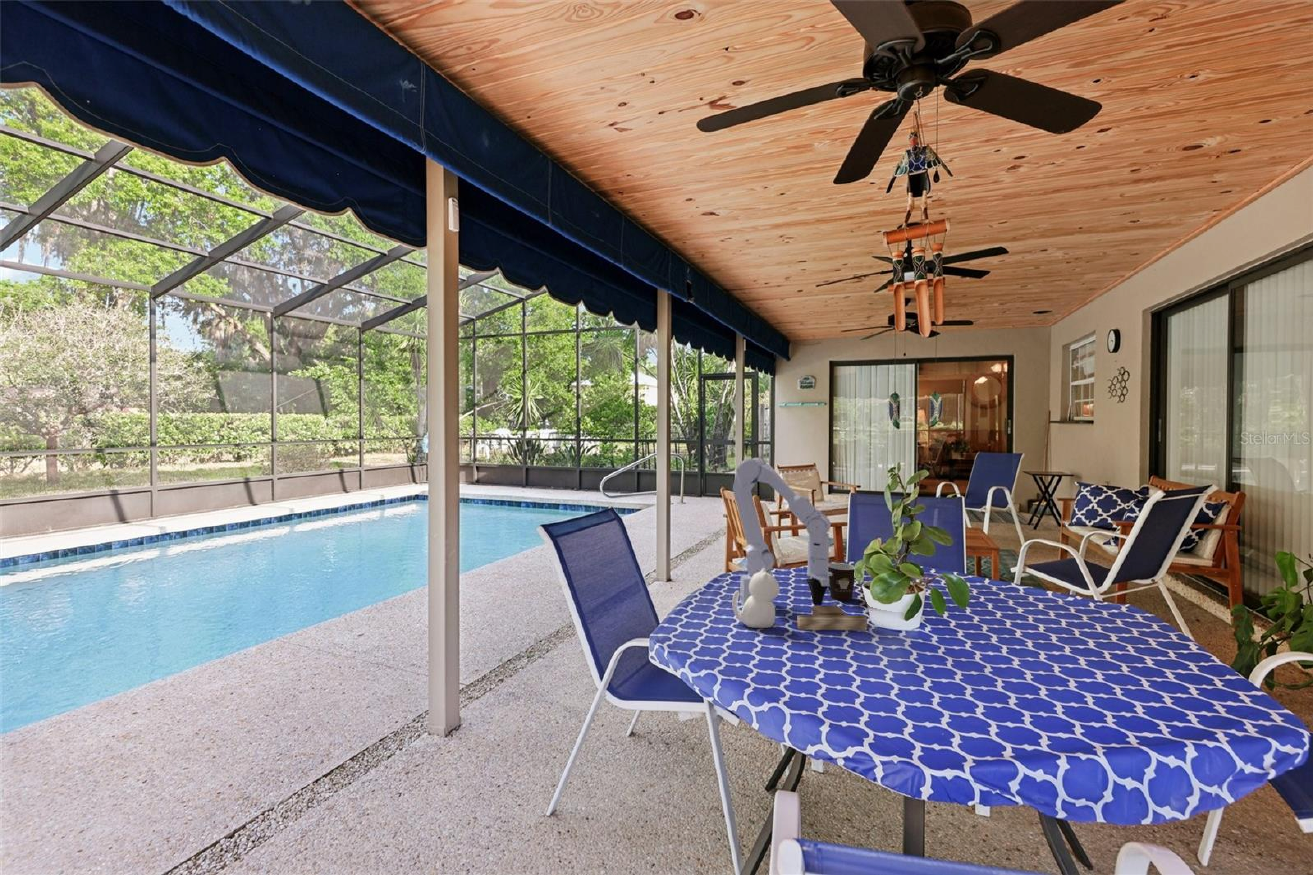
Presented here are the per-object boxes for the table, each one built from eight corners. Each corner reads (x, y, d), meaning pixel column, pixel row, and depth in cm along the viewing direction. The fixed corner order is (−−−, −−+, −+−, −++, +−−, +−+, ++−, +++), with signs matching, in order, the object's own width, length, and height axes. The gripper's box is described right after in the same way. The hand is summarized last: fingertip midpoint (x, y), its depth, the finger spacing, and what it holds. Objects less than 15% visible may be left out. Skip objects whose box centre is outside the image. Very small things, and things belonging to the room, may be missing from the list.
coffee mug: (858, 596, 186) (859, 565, 185) (851, 603, 178) (852, 571, 178) (821, 591, 192) (822, 560, 192) (813, 597, 184) (814, 565, 184)
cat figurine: (780, 632, 153) (782, 575, 152) (731, 629, 154) (733, 572, 154) (776, 621, 162) (778, 567, 161) (731, 618, 163) (733, 564, 163)
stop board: (799, 629, 155) (799, 617, 154) (797, 626, 157) (797, 614, 157) (867, 630, 155) (867, 617, 155) (863, 626, 158) (863, 614, 158)
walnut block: (819, 627, 157) (819, 612, 157) (812, 620, 163) (812, 605, 163) (844, 627, 158) (845, 612, 158) (836, 619, 164) (837, 605, 164)
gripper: (840, 563, 161) (839, 612, 162) (824, 552, 176) (823, 597, 176) (815, 563, 161) (814, 612, 161) (800, 552, 176) (799, 597, 176)
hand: (817, 604), depth 169 cm, fingers closed
